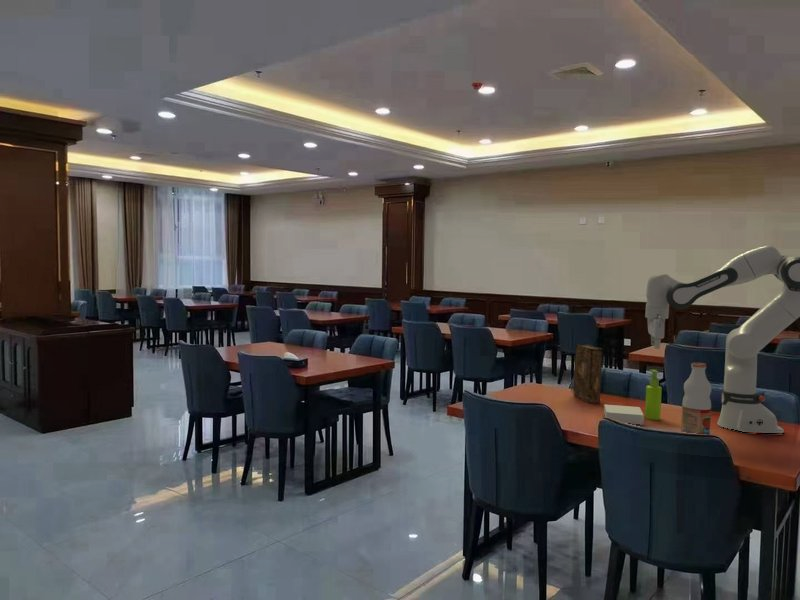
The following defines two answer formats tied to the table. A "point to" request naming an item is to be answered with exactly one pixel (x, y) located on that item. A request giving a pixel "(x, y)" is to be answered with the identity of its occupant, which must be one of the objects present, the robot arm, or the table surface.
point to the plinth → (624, 414)
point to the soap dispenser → (653, 398)
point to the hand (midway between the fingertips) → (655, 347)
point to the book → (588, 373)
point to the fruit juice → (696, 402)
